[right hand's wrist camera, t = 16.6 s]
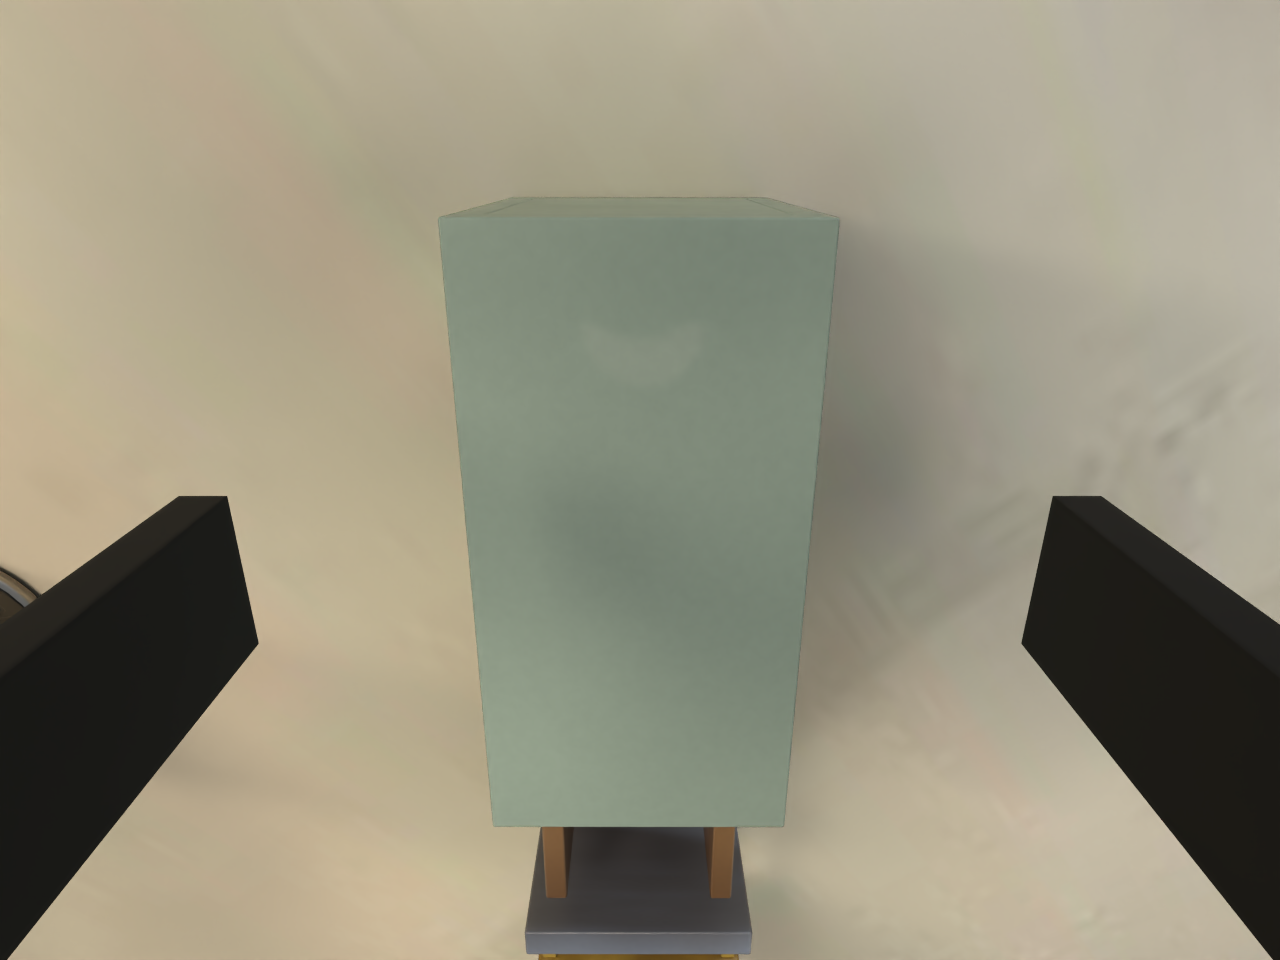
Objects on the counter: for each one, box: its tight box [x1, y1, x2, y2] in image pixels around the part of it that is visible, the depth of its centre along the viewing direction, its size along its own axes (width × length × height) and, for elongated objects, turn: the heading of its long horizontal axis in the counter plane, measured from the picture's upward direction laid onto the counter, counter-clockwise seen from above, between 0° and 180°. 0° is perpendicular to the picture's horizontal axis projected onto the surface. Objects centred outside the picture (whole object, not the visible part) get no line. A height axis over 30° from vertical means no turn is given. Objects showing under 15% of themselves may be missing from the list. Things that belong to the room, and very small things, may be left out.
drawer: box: [525, 827, 752, 960], centre depth 32 cm, size 24×9×10 cm, turn 0°
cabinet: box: [438, 198, 840, 827], centre depth 28 cm, size 20×10×12 cm, turn 0°
